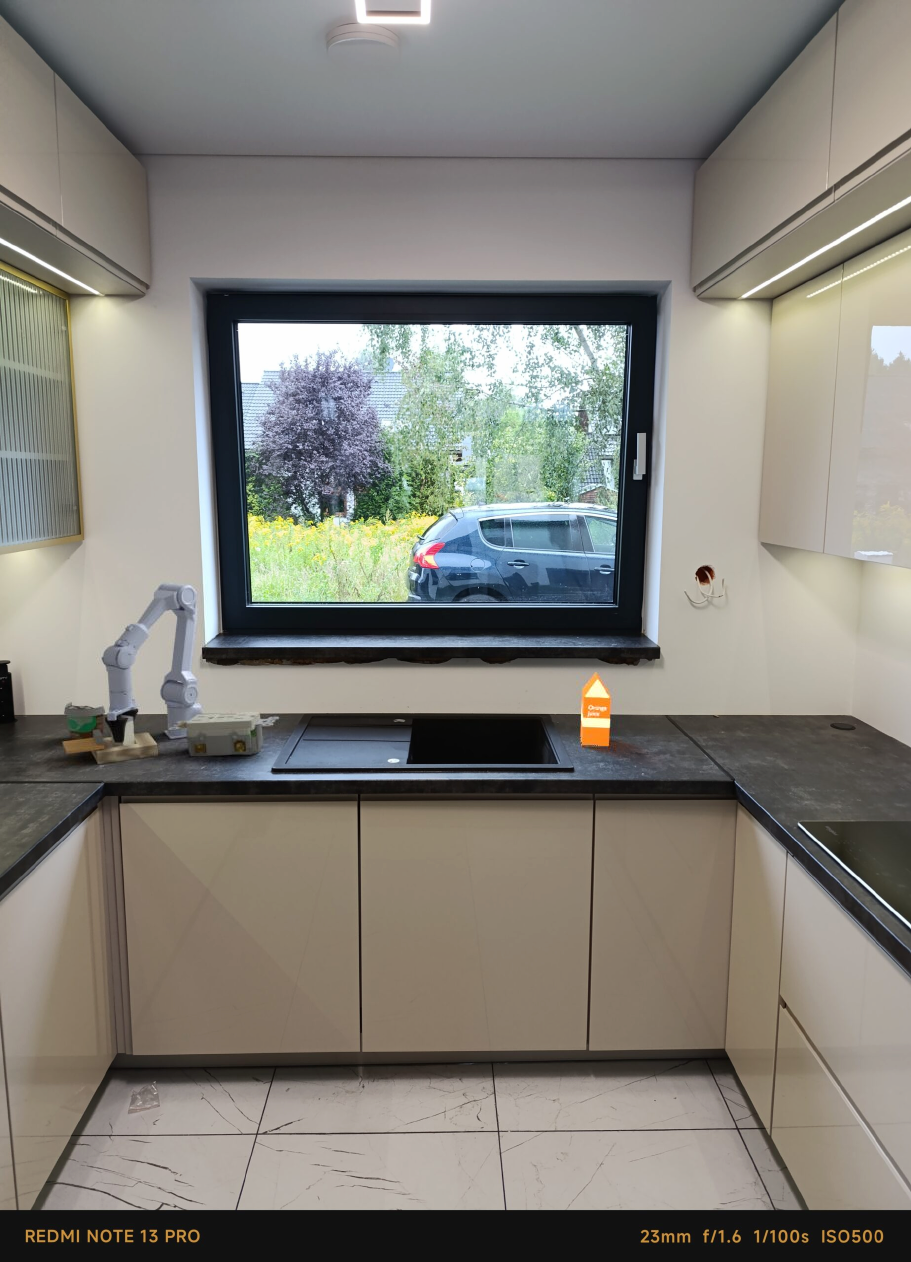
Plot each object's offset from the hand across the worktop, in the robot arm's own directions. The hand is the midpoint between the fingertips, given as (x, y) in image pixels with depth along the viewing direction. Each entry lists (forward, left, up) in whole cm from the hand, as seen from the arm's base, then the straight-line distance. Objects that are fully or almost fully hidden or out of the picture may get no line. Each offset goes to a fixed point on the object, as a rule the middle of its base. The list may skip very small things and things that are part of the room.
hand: (123, 739), depth 227 cm
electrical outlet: (-24, +12, -4) cm, 27 cm away
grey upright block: (0, 0, -2) cm, 2 cm away
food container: (+9, -17, -4) cm, 19 cm away
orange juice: (-118, +55, -4) cm, 131 cm away
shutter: (+10, 0, -1) cm, 10 cm away
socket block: (0, 0, -4) cm, 4 cm away
